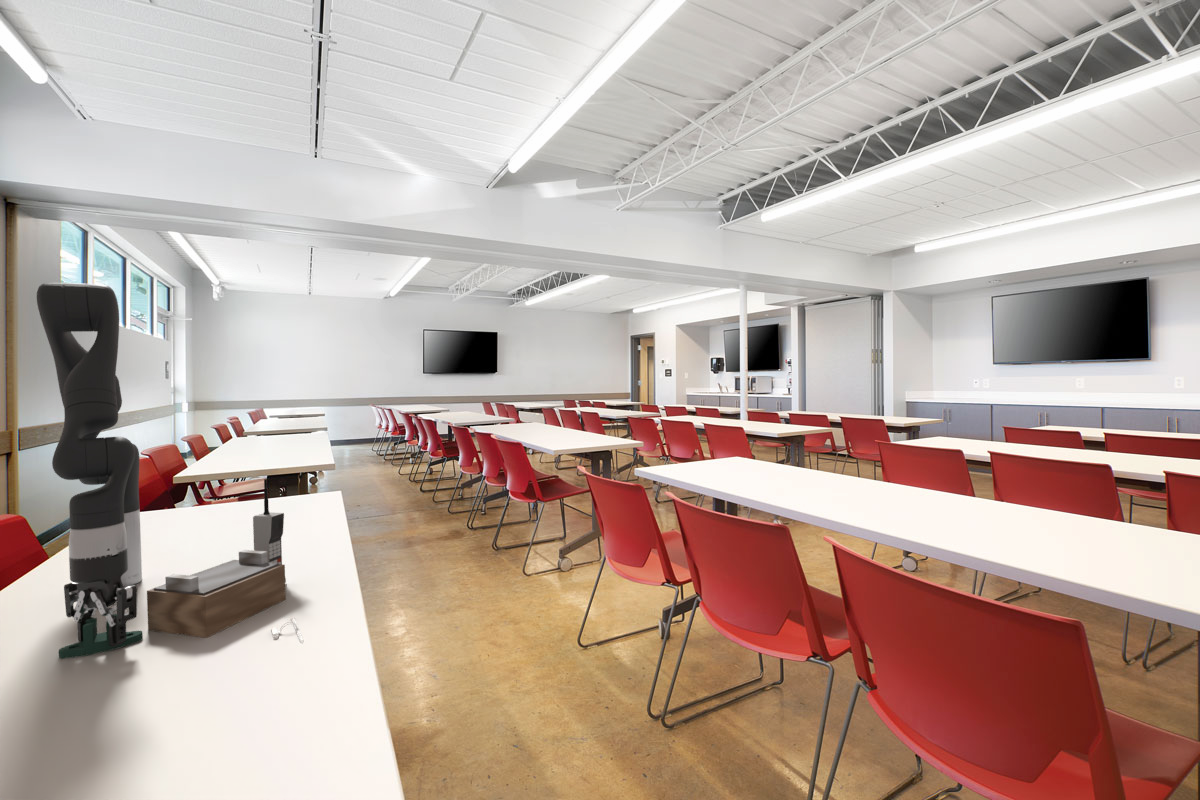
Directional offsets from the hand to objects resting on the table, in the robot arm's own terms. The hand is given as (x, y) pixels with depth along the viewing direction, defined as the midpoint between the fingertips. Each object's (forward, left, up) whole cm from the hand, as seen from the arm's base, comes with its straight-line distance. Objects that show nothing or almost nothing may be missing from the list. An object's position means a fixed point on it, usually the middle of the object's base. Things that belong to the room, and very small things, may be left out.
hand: (102, 642), depth 95 cm
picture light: (+28, +12, -2) cm, 30 cm away
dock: (+8, +16, -1) cm, 18 cm away
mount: (0, 0, -1) cm, 1 cm away
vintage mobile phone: (+5, +31, -1) cm, 31 cm away
